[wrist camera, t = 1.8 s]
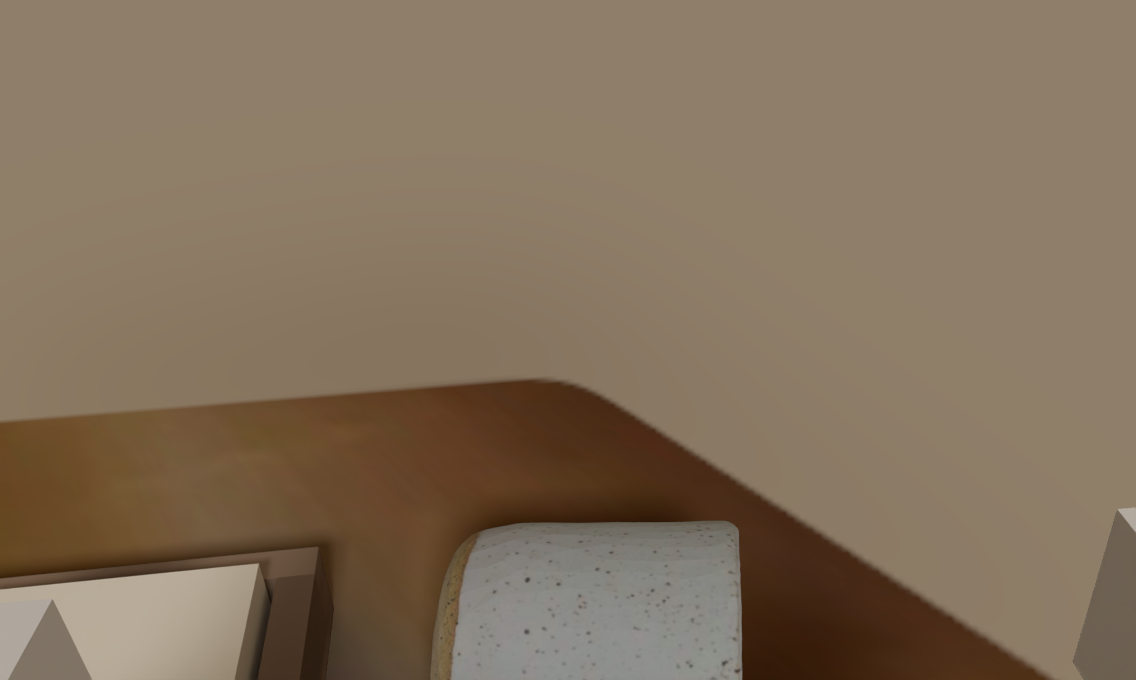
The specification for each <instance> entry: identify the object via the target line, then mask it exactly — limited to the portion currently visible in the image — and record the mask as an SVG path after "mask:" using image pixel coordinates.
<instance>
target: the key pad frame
mask: <svg viewBox="0 0 1136 680" xmlns="http://www.w3.org/2000/svg"><path fill="white" fill-rule="evenodd" d="M258 563H259V566H260V569H261V572H262V576H263V579H264V582H265V586H266V589H267V593H268V596H269V599H270V603H271V610H270V615H269V620H268V626H267V631H266V636H265V642H264V647H263V652H262V658H261V663H260V668H259V674H258V679H257V680H325V678H326V670H327V661H328V653H329V644H330V636H331V627H332V619H333V610H334V608H333V604H332V599H331V595H330V591H329V587H328V583H327V579H326V575H325V571H324V567H323V562H322V558H321V554H320V550H319V547H309V548H299V549H289V550H279V551H269V552H259V553H249V554H239V555H229V556H220V557H210V558H200V559H190V560H180V561H170V562H160V563H150V564H140V565H130V566H120V567H110V568H100V569H90V570H80V571H70V572H60V573H50V574H40V575H30V576H21V577H11V578H1V579H0V590H1V589H11V588H21V587H31V586H41V585H51V584H61V583H70V582H80V581H90V580H100V579H110V578H120V577H130V576H139V575H149V574H159V573H169V572H179V571H189V570H199V569H209V568H218V567H228V566H238V565H248V564H258Z"/></svg>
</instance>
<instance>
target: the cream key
mask: <svg viewBox="0 0 1136 680" xmlns="http://www.w3.org/2000/svg"><path fill="white" fill-rule="evenodd" d="M43 599H53V601H54V603H55V605H56V607H57V609H58V611H59V613H60V615H61V617H62V619H63V621H64V623H65V625H66V627H67V629H68V631H69V633H70V635H71V637H72V639H73V642H74V644H75V646H76V648H77V650H78V652H79V654H80V656H81V658H82V660H83V662H84V664H85V666H86V668H87V670H88V672H89V674H90V676H91V678H92V680H257V679H258V674H259V668H260V663H261V658H262V652H263V647H264V642H265V636H266V631H267V626H268V620H269V615H270V610H271V603H270V599H269V596H268V593H267V589H266V586H265V582H264V579H263V576H262V572H261V569H260V566H259V563H258V564H248V565H238V566H228V567H218V568H209V569H199V570H189V571H179V572H169V573H159V574H149V575H139V576H130V577H120V578H110V579H100V580H90V581H80V582H70V583H61V584H51V585H41V586H31V587H21V588H11V589H1V590H0V603H7V602H19V601H31V600H43Z"/></svg>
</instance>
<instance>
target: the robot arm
mask: <svg viewBox="0 0 1136 680" xmlns="http://www.w3.org/2000/svg"><path fill="white" fill-rule="evenodd" d="M1073 663H1074V664H1075V666H1076V668H1077V669H1078V671H1079V672H1080V674H1081V676H1082V678H1083V679H1084V680H1136V508H1124V509H1117V512H1116V515H1115V519H1114V522H1113V526H1112V529H1111V532H1110V536H1109V539H1108V543H1107V546H1106V550H1105V553H1104V556H1103V560H1102V563H1101V567H1100V570H1099V573H1098V577H1097V580H1096V584H1095V587H1094V591H1093V594H1092V598H1091V601H1090V605H1089V608H1088V611H1087V615H1086V618H1085V622H1084V625H1083V629H1082V633H1081V635H1080V639H1079V642H1078V646H1077V649H1076V652H1075V656H1074V659H1073ZM0 680H92V678H91V676H90V674H89V672H88V670H87V668H86V666H85V664H84V662H83V660H82V658H81V656H80V654H79V652H78V650H77V648H76V646H75V644H74V642H73V639H72V637H71V635H70V633H69V631H68V629H67V627H66V625H65V623H64V621H63V619H62V617H61V615H60V613H59V611H58V609H57V607H56V605H55V603H54V601H53V599H43V600H31V601H19V602H7V603H0Z"/></svg>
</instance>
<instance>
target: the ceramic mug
mask: <svg viewBox="0 0 1136 680" xmlns="http://www.w3.org/2000/svg"><path fill="white" fill-rule="evenodd" d="M740 576H741V574H740V559H739V531H738V529H737V527H736V526H735V525H734V524H732V523H730V522H728V521H693V522H601V523H518V524H512V525H507V526H501V527H496V528H490V529H486V530H481V531H479V532H476V533H474V534H472V535H471V536H470V537H469V538H468V539H467V540H466V541H465V542H463V543H462V544H461V546H460V547H459V548H458V549H457V550H456V552H455V554H454V556H453V558H452V560H451V562H450V564H449V566H448V569H447V572H446V575H445V578H444V581H443V585H442V589H441V594H440V598H439V603H438V608H437V614H436V620H435V627H434V633H433V643H432V658H431V672H430V680H742V625H741V615H742V605H741V587H740Z"/></svg>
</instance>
